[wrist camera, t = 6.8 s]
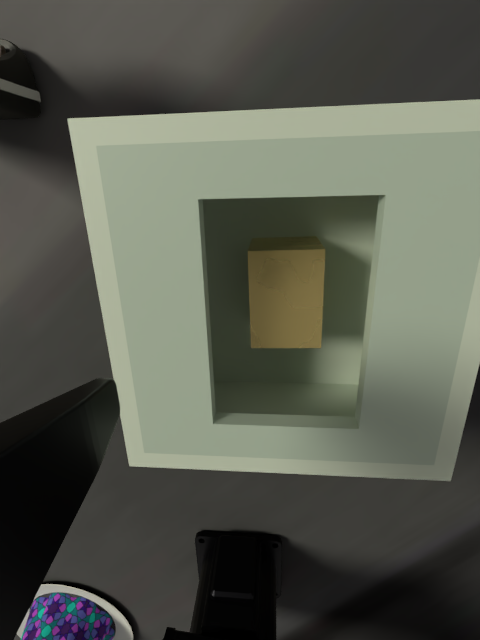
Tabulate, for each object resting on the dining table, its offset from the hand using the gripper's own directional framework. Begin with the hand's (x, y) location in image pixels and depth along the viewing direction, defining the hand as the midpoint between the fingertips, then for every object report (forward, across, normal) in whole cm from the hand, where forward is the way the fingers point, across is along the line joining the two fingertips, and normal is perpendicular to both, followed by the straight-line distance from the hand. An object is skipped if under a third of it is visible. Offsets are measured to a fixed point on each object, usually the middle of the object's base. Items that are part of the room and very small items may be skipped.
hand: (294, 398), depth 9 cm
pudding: (+12, +19, +33) cm, 40 cm away
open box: (+12, 0, 0) cm, 12 cm away
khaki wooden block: (+11, 0, 0) cm, 11 cm away
